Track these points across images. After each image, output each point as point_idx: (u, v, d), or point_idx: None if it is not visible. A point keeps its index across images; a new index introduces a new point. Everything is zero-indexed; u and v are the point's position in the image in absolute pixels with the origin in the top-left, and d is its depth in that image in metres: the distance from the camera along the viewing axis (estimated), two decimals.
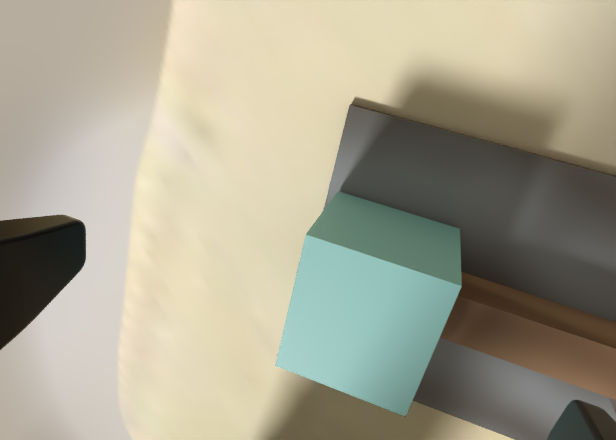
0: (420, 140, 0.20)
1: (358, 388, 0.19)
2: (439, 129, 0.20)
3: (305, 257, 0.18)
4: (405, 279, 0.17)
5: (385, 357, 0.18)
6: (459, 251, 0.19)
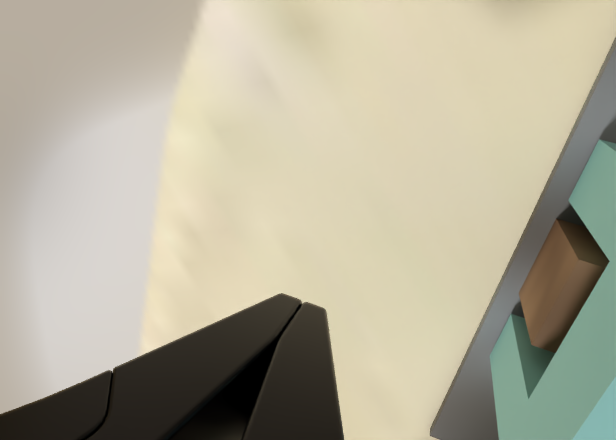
0: None
1: None
2: None
3: None
4: None
5: None
6: None
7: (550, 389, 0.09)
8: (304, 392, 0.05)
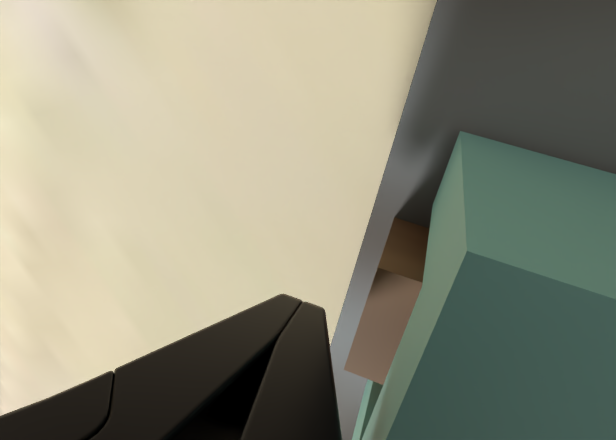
0: None
1: None
2: None
3: (449, 345, 0.04)
4: None
5: None
6: None
7: None
8: (302, 391, 0.05)
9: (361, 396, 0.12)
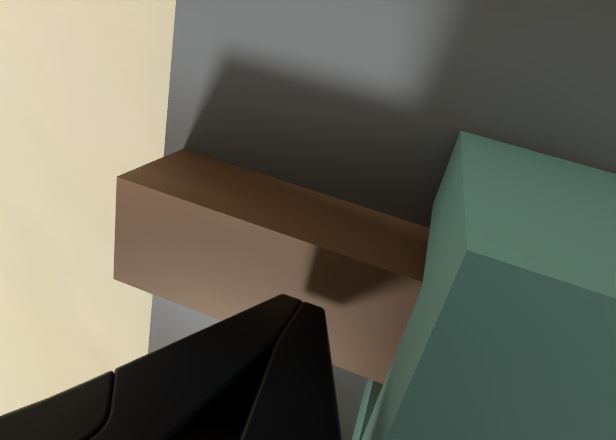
0: None
1: None
2: None
3: (449, 343, 0.04)
4: None
5: None
6: None
7: None
8: (302, 391, 0.05)
9: (187, 326, 0.13)
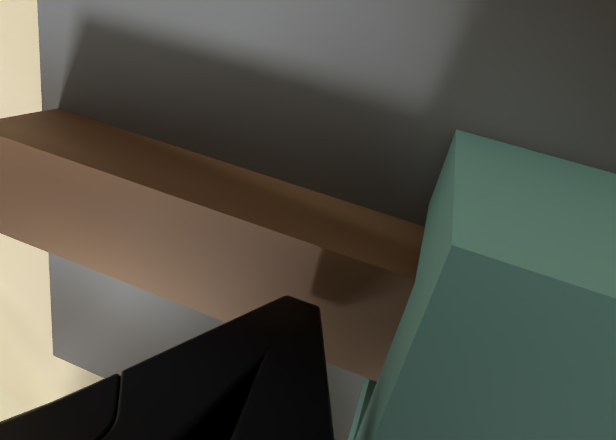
0: None
1: None
2: None
3: (436, 338, 0.04)
4: None
5: None
6: None
7: None
8: (295, 389, 0.05)
9: (81, 282, 0.14)
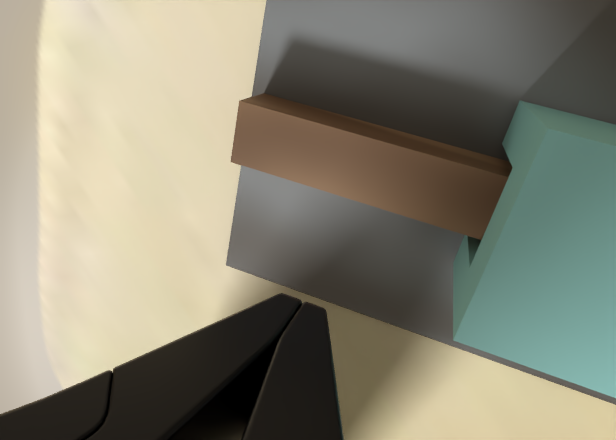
0: None
1: (587, 372, 0.13)
2: None
3: (539, 167, 0.11)
4: None
5: None
6: None
7: (479, 252, 0.14)
8: (304, 392, 0.05)
9: (258, 209, 0.21)
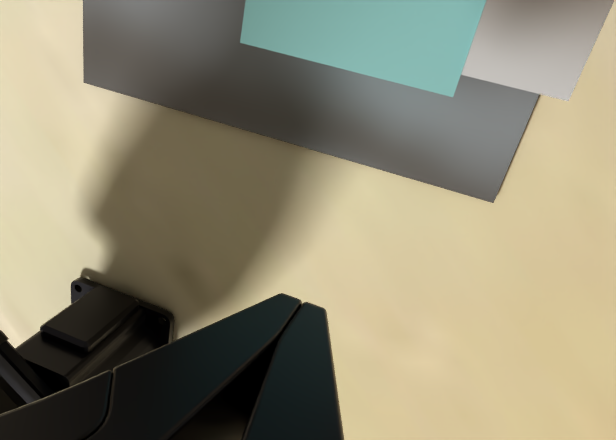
0: None
1: (374, 55, 0.12)
2: None
3: None
4: None
5: None
6: None
7: None
8: (304, 392, 0.05)
9: (105, 6, 0.19)
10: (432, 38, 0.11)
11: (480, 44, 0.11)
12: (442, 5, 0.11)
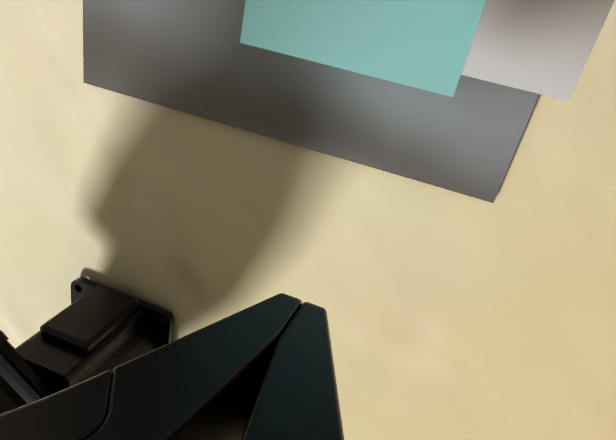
0: None
1: (374, 55, 0.12)
2: None
3: None
4: None
5: None
6: None
7: None
8: (304, 392, 0.05)
9: (105, 6, 0.19)
10: (432, 38, 0.11)
11: (480, 44, 0.11)
12: (442, 5, 0.11)
